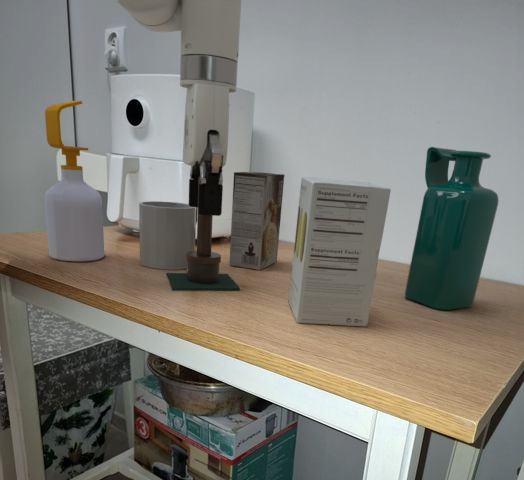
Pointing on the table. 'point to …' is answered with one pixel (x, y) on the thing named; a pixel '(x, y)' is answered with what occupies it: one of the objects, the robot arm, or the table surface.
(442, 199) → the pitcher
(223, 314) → the table surface
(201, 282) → the brush
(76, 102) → the soap bottle
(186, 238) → the tumbler
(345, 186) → the supplement box
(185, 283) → the mat
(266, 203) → the coffee box
